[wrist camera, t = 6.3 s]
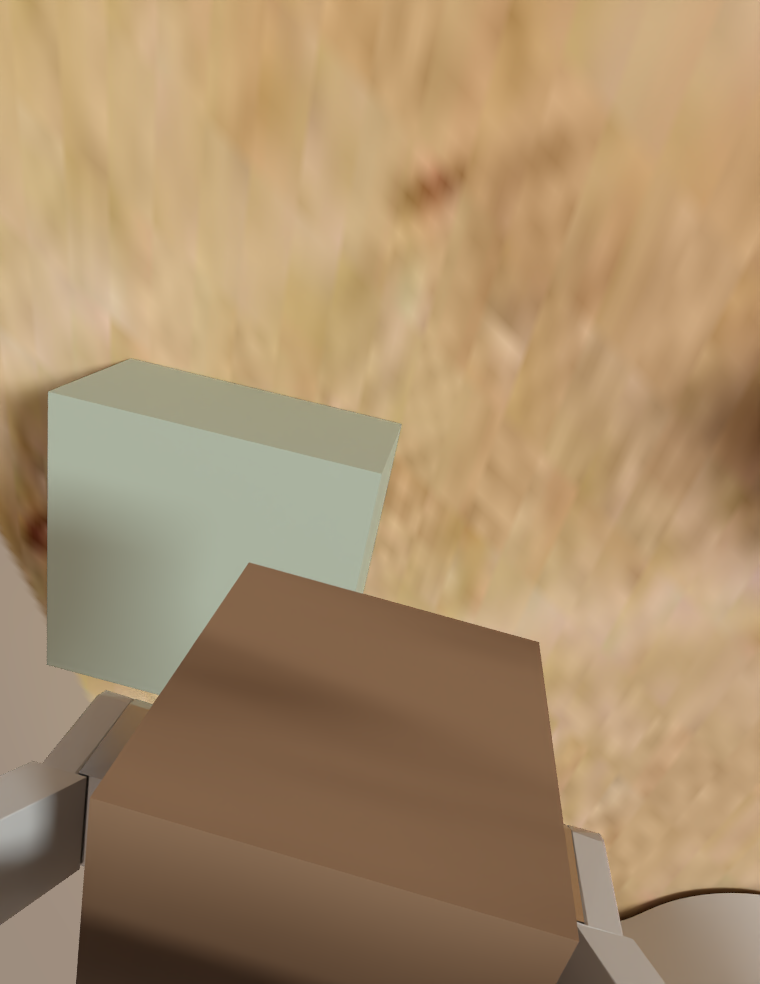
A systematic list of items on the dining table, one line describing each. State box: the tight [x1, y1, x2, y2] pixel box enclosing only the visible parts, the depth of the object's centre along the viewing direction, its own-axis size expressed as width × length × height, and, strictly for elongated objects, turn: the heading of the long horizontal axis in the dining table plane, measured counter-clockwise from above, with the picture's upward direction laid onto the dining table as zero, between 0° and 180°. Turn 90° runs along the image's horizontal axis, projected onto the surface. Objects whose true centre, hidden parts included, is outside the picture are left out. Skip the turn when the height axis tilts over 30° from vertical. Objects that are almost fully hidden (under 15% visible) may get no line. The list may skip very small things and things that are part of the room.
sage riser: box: [47, 359, 402, 695], centre depth 28 cm, size 12×12×6 cm
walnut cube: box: [76, 562, 579, 984], centre depth 10 cm, size 5×5×5 cm
